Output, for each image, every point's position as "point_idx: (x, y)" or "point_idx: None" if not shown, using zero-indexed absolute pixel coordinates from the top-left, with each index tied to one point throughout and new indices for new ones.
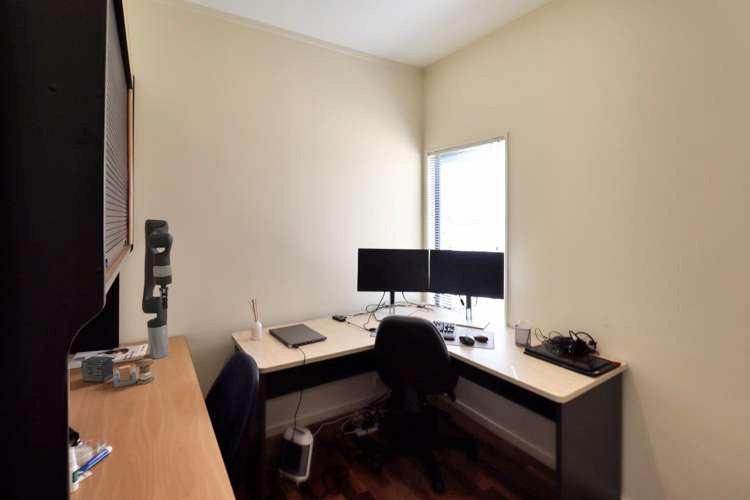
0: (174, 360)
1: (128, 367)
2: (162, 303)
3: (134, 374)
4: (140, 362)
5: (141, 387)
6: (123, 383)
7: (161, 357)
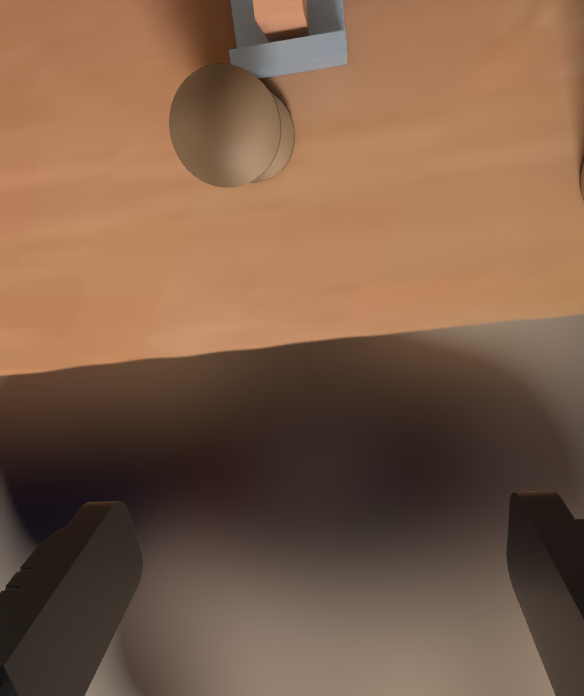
0: (481, 269)
1: (254, 10)
2: (1, 621)
3: None
4: (216, 101)
5: None
6: (231, 6)
7: (581, 187)
